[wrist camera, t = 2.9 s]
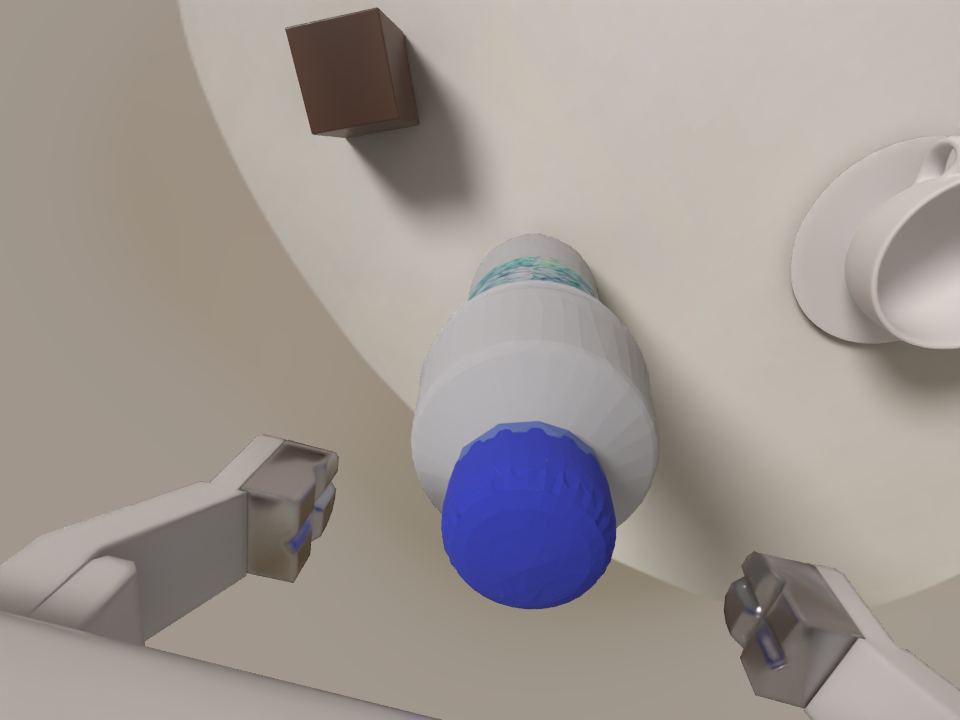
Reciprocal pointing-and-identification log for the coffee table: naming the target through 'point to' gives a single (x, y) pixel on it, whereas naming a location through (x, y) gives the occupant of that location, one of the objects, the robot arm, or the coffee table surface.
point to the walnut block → (353, 74)
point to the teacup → (886, 248)
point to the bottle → (533, 427)
